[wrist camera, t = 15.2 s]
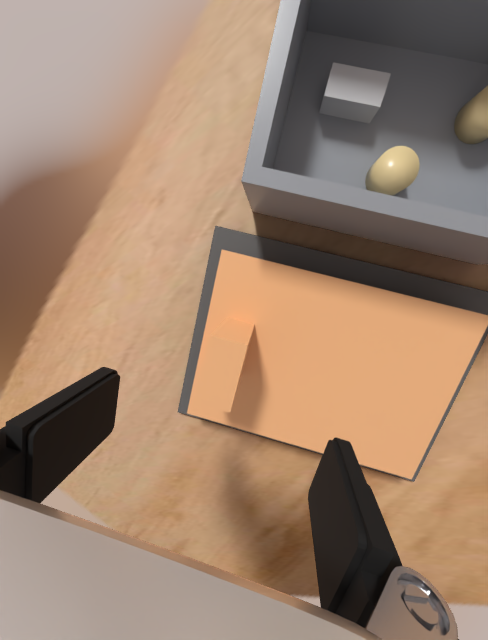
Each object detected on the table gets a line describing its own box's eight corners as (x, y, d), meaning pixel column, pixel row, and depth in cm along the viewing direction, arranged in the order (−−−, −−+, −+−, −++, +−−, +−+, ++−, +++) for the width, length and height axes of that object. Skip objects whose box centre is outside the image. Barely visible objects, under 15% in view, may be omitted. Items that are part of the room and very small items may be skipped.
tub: (563, 74, 18) (787, -77, 10) (476, 264, 21) (595, 262, 13) (296, 24, 19) (311, -143, 11) (252, 211, 22) (241, 181, 14)
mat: (501, 295, 21) (506, 296, 21) (411, 477, 26) (414, 481, 25) (216, 226, 23) (215, 225, 22) (179, 409, 27) (177, 412, 27)
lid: (467, 311, 21) (589, 337, 13) (398, 459, 25) (459, 552, 17) (227, 251, 23) (201, 241, 15) (194, 400, 26) (159, 459, 18)
